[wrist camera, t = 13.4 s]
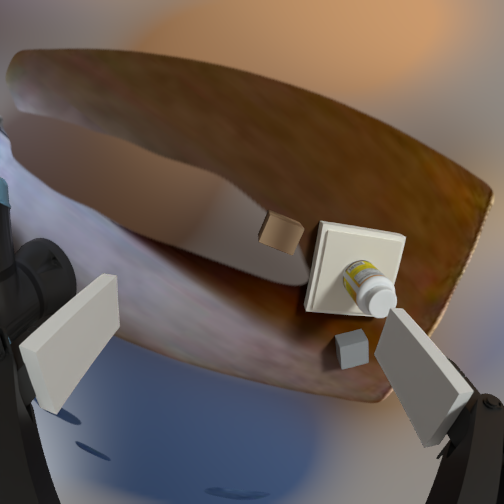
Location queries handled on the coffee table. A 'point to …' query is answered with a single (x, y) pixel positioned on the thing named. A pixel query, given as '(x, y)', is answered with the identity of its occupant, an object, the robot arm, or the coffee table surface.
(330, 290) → the podium
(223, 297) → the coffee table surface
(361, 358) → the grey matte cube
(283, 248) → the walnut block
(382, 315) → the supplement bottle
